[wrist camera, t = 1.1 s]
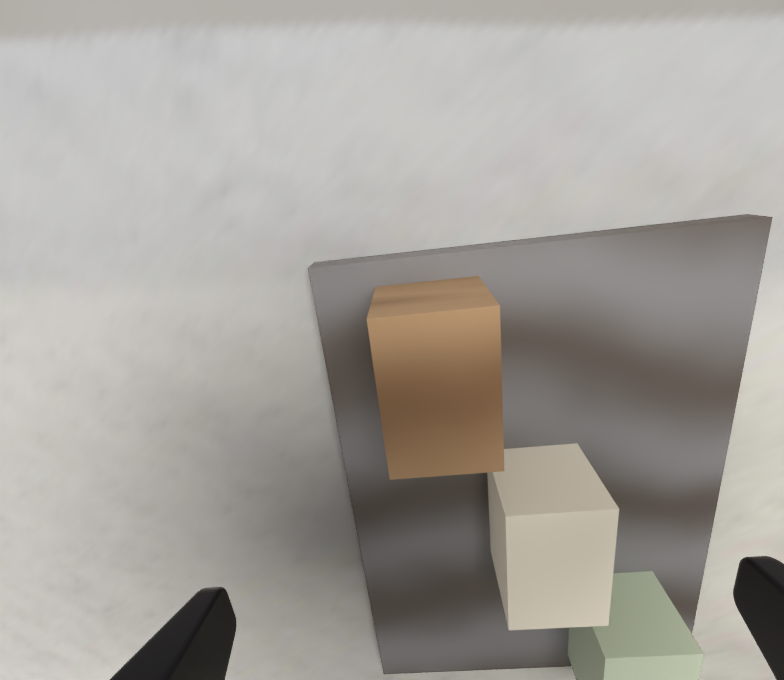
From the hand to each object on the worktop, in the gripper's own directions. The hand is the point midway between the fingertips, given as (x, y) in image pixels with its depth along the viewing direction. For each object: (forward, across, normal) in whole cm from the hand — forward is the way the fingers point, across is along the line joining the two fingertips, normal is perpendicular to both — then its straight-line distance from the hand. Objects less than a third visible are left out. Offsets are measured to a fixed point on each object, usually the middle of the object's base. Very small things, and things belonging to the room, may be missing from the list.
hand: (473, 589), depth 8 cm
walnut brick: (+11, 0, 0) cm, 11 cm away
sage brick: (+11, -8, +16) cm, 21 cm away
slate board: (+12, -4, +8) cm, 15 cm away
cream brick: (+11, -4, +8) cm, 14 cm away
